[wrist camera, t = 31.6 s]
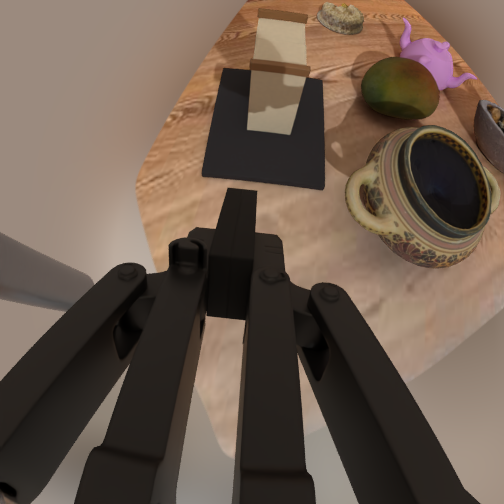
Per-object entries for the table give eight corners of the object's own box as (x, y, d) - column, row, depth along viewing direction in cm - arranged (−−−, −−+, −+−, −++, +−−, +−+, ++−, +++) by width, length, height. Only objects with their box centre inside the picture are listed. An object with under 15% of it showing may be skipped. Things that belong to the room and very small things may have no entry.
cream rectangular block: (245, 131, 42) (250, 62, 29) (249, 98, 44) (255, 30, 31) (291, 137, 42) (310, 70, 30) (292, 103, 44) (309, 38, 31)
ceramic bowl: (324, 274, 42) (375, 286, 27) (309, 143, 41) (349, 95, 26) (461, 256, 44) (529, 257, 29) (447, 148, 43) (509, 121, 28)
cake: (369, 37, 52) (377, 20, 47) (327, 36, 51) (333, 18, 46) (350, 9, 54) (356, -7, 48) (309, 8, 53) (314, -9, 47)
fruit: (431, 122, 46) (459, 89, 37) (388, 146, 44) (416, 108, 35) (389, 76, 49) (409, 40, 39) (341, 93, 46) (359, 50, 37)
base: (202, 176, 41) (189, 108, 27) (223, 72, 46) (222, 3, 32) (322, 190, 42) (358, 129, 28) (321, 84, 47) (342, 19, 33)
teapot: (388, 46, 51) (403, 16, 43) (442, 65, 52) (460, 40, 43) (399, 83, 48) (418, 51, 40) (457, 104, 49) (479, 78, 40)
